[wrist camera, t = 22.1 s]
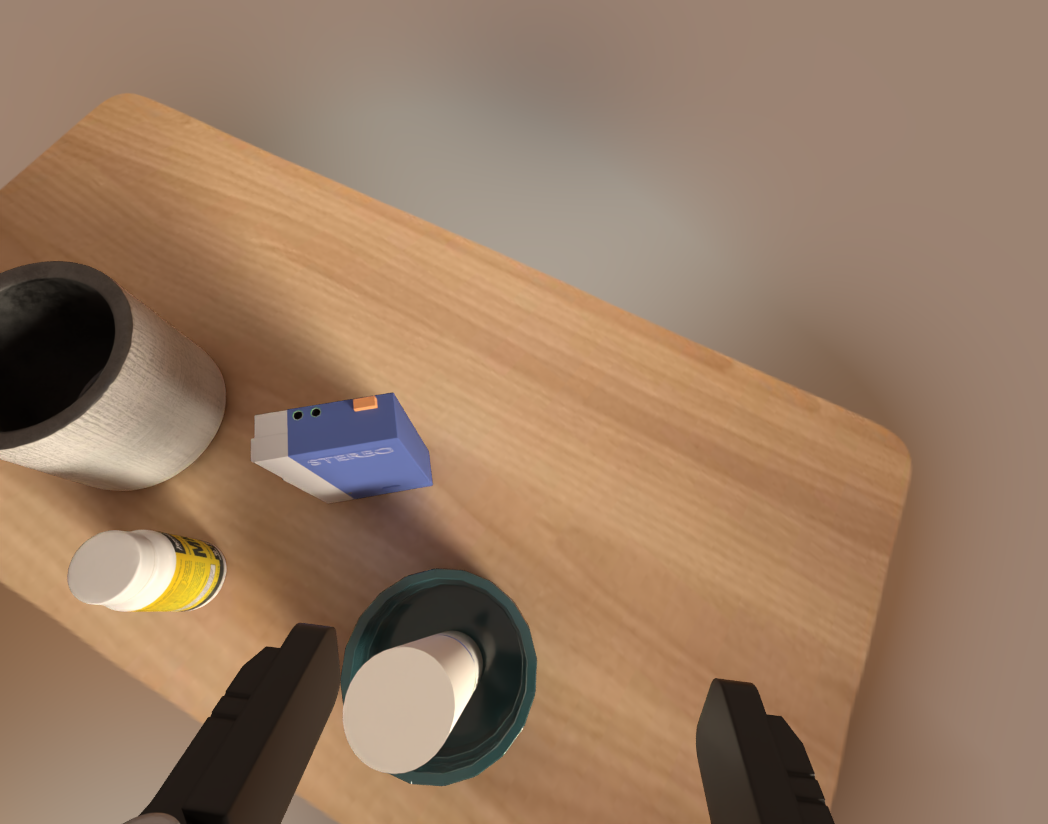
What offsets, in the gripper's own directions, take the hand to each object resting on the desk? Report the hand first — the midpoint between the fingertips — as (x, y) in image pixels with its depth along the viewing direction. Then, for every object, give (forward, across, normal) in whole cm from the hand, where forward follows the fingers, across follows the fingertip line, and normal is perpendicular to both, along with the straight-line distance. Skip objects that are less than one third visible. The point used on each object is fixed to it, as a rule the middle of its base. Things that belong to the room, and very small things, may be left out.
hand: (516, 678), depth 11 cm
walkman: (+25, +12, +12) cm, 30 cm away
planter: (+27, +31, +10) cm, 42 cm away
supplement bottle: (+19, +24, +18) cm, 35 cm away
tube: (+16, +5, +20) cm, 26 cm away
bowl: (+16, +5, +20) cm, 26 cm away
